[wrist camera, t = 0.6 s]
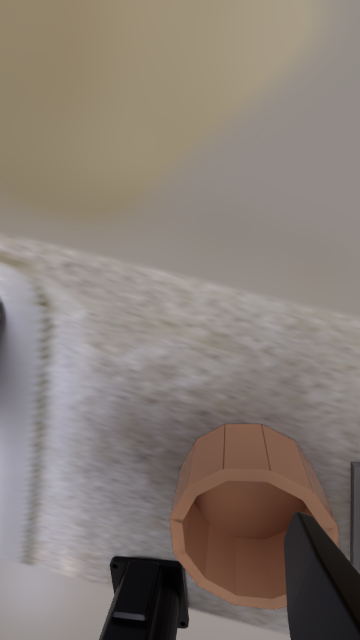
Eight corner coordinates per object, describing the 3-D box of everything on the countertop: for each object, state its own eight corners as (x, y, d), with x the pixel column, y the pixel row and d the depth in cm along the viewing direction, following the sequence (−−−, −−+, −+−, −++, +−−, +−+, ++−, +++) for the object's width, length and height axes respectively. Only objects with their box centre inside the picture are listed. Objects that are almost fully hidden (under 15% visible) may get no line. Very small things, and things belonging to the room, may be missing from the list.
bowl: (315, 542, 23) (338, 616, 18) (188, 533, 25) (178, 599, 20) (313, 423, 21) (338, 471, 17) (177, 423, 23) (163, 466, 18)
